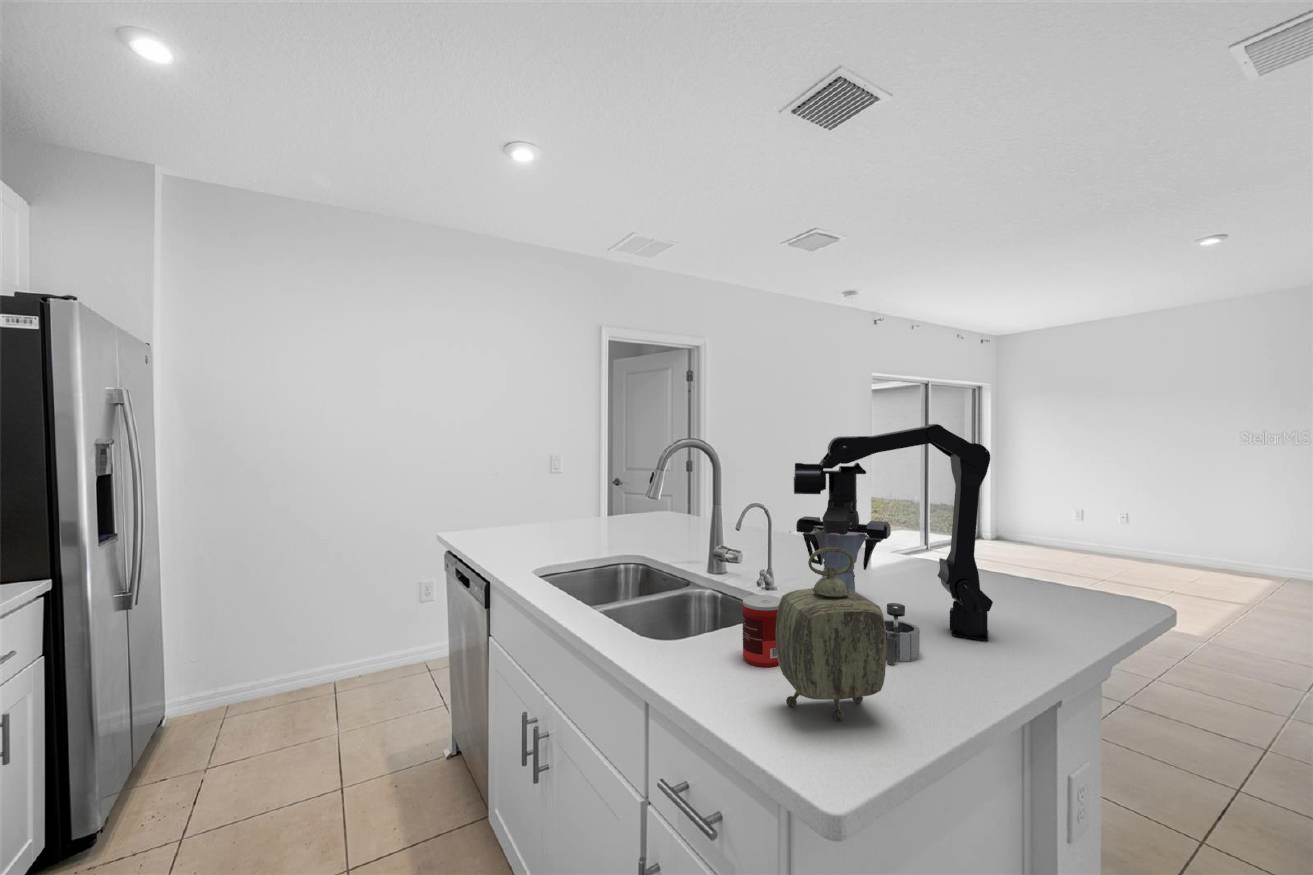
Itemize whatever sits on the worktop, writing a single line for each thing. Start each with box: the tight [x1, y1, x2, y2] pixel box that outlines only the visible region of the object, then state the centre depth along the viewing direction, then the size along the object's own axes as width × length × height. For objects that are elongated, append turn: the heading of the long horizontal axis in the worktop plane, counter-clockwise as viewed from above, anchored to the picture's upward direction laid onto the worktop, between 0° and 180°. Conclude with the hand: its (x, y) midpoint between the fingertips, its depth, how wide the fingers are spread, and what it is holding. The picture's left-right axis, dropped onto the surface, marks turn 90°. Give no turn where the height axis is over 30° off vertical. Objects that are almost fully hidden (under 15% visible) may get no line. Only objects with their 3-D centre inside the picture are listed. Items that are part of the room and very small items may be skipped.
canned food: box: [742, 594, 782, 668], centre depth 108 cm, size 8×8×11 cm
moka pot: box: [803, 530, 868, 592], centre depth 146 cm, size 10×15×20 cm, turn 78°
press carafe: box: [884, 619, 921, 666], centre depth 110 cm, size 8×11×5 cm
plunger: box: [886, 602, 906, 633], centre depth 111 cm, size 5×5×8 cm
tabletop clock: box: [776, 547, 887, 722], centre depth 87 cm, size 14×9×25 cm, turn 97°
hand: (842, 567), depth 125 cm, fingers open, 9 cm apart
